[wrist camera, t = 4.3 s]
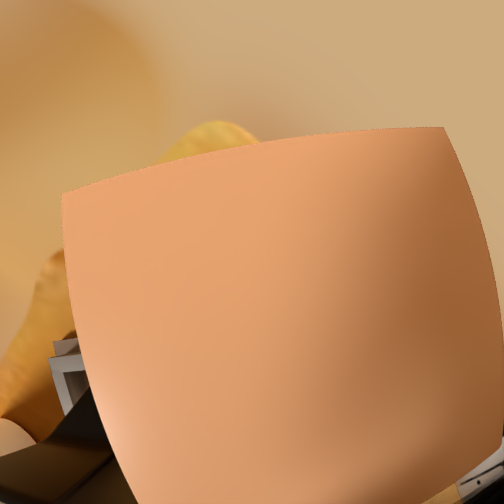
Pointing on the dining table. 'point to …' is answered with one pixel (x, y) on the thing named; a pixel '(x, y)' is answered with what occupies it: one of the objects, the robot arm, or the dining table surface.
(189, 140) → the dining table surface
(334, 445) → the jaw tall
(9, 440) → the beverage can
